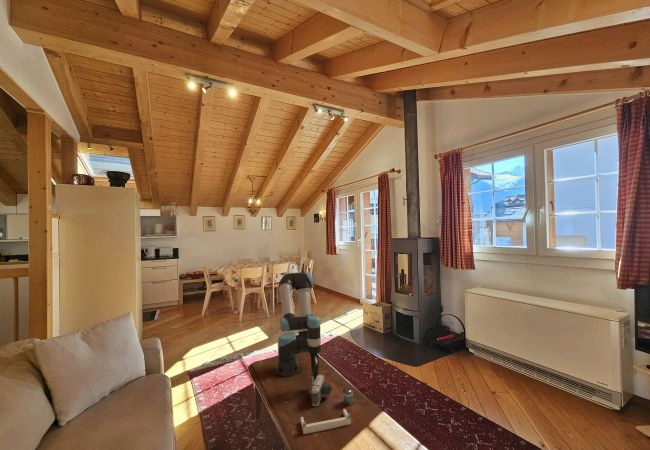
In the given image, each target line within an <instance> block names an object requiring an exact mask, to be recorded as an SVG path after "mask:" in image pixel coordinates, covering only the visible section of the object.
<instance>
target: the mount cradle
mask: <svg viewBox="0 0 650 450" xmlns="http://www.w3.org/2000/svg"><path fill="white" fill-rule="evenodd" d="M342 411H343V412H342V413H343V416H344V417H338V418H333V419H328V420H323V421H318V422H313V423H312V422H311V423H307V422H306V421H305V420H304V416H300V425H301V429H302V433H303V435H306V434H311V433H316V432H321V431H327V430H331V429H335V428H339V427H343V426H348V425H351V424H352V418H351V416H352V415H351V413H348V411H347V409H346V408H343V410H342Z"/></svg>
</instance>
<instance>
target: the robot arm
mask: <svg viewBox="0 0 650 450" xmlns="http://www.w3.org/2000/svg"><path fill="white" fill-rule="evenodd" d="M277 287H278V292H279V294H280V302H281V303H280V304H281V312H282V313H281V314H282V317H281V318H280V320H279V326H280V331H281V332H285V333H283V334H281V335H279V336H278V339H277V363H276V366H275V374H276V375H277V376H280V377H285V378H287V377H292V376H294V375H297V374H298V373H299V371H300V365H299V361H298V359H297V355H301V354H308V353H309V354H310V365H311V378H312V380H311V381H312V383H311V384H313V383H314V381H315V379H316V377H317V375H319V364H320V361H319V353H321V352H322V351H321V350H322V348H321V346H322V345H321V344H322V342H321V341H322V340H321V339H322V338H321V337H322V336H321V318H320V317H319V316H316V315H313V313H312V304H311V291H312V289H313V288H314V279H313V276H312V274H311V273H310V272H307V271H304V272H303V271H302V272H289V273H286V274H284V275H283V276H282V277H281V279H280V280H279V282H278V286H277ZM292 290H295V291H294V292H295V293H296V294H297V302H298V303H297V304H298V315H299V316H296V313H295V306H294V300H293V293H292ZM293 331H298V333H297V334H296V333H295V332H293Z"/></svg>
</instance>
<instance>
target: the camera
mask: <svg viewBox="0 0 650 450" xmlns="http://www.w3.org/2000/svg"><path fill="white" fill-rule="evenodd" d="M310 387H311V406H313V407H317V406H319V405H320V402H321V399H322V397H323V396H326V395H329V396H330V395H331V394H332V385H331V383H329V384H328V382H326V383H325V377H324V375H322V374H318V375H317V377H316V379H315V381H314V383H311V386H310Z"/></svg>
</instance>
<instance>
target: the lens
mask: <svg viewBox="0 0 650 450" xmlns="http://www.w3.org/2000/svg"><path fill="white" fill-rule="evenodd" d="M342 397H343V401H342V402H343V403H342V404H343V405H344V406H347V407H350V406H352V405H353V404H354V391H353V388H352V387H344V388H343V389H342Z"/></svg>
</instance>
